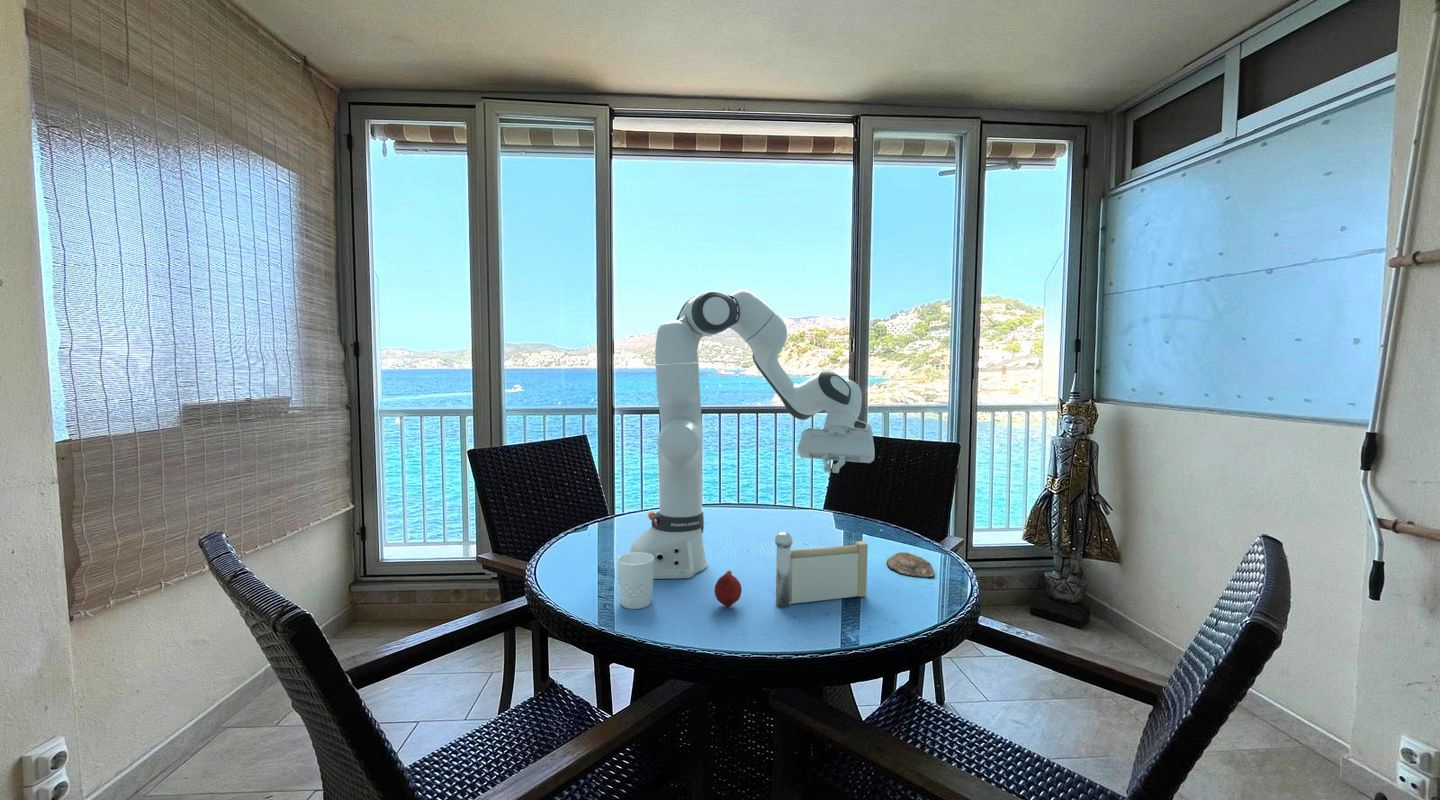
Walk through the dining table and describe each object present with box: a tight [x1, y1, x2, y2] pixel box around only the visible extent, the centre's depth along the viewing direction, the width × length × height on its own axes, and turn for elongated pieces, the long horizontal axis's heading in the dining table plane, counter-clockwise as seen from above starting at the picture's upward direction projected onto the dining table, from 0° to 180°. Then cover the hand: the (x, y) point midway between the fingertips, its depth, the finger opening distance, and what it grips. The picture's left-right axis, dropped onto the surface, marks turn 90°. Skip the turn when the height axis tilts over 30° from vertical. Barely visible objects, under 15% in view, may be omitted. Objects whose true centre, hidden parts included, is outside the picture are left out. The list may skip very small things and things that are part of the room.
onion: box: [713, 570, 742, 608], centre depth 118 cm, size 6×6×8 cm
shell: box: [886, 551, 935, 579], centre depth 143 cm, size 12×13×4 cm
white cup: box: [617, 552, 654, 610], centre depth 120 cm, size 8×8×10 cm
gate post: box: [774, 531, 793, 609], centre depth 119 cm, size 4×4×16 cm
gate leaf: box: [790, 540, 869, 604], centre depth 122 cm, size 18×2×12 cm, turn 106°
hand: (831, 471), depth 142 cm, fingers closed
